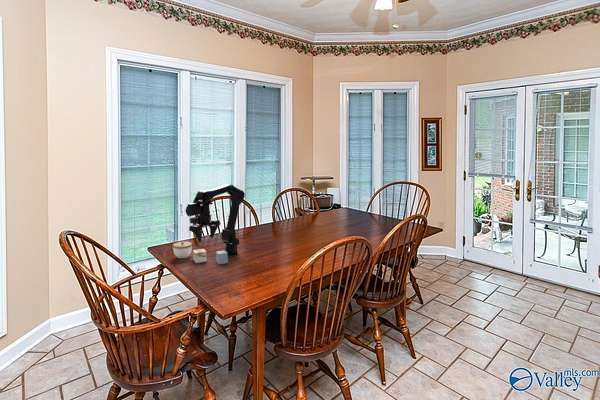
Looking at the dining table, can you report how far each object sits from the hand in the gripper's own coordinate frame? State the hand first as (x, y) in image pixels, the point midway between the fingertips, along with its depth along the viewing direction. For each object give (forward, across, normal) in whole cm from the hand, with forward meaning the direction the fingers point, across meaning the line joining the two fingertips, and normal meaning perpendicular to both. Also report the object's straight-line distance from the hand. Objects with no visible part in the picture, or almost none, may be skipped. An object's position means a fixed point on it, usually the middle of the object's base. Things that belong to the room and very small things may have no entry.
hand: (206, 240), depth 203 cm
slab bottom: (+13, +1, -5) cm, 14 cm away
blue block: (+13, -4, +8) cm, 15 cm away
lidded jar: (+13, +2, -18) cm, 22 cm away
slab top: (+10, +1, -5) cm, 11 cm away
